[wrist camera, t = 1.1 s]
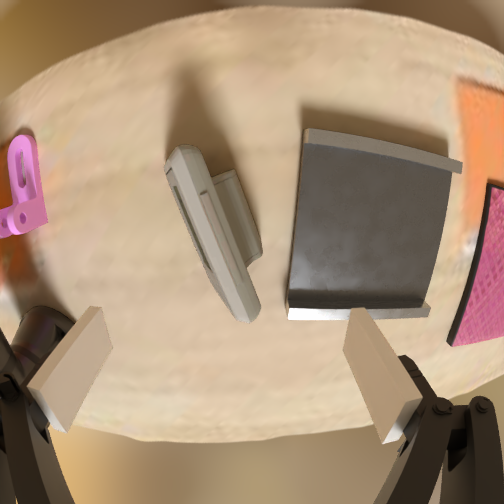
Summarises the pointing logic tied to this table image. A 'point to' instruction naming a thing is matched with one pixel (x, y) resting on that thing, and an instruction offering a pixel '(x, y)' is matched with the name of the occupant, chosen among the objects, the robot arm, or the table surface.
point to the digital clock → (217, 227)
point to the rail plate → (365, 227)
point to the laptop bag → (484, 279)
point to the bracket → (23, 190)
